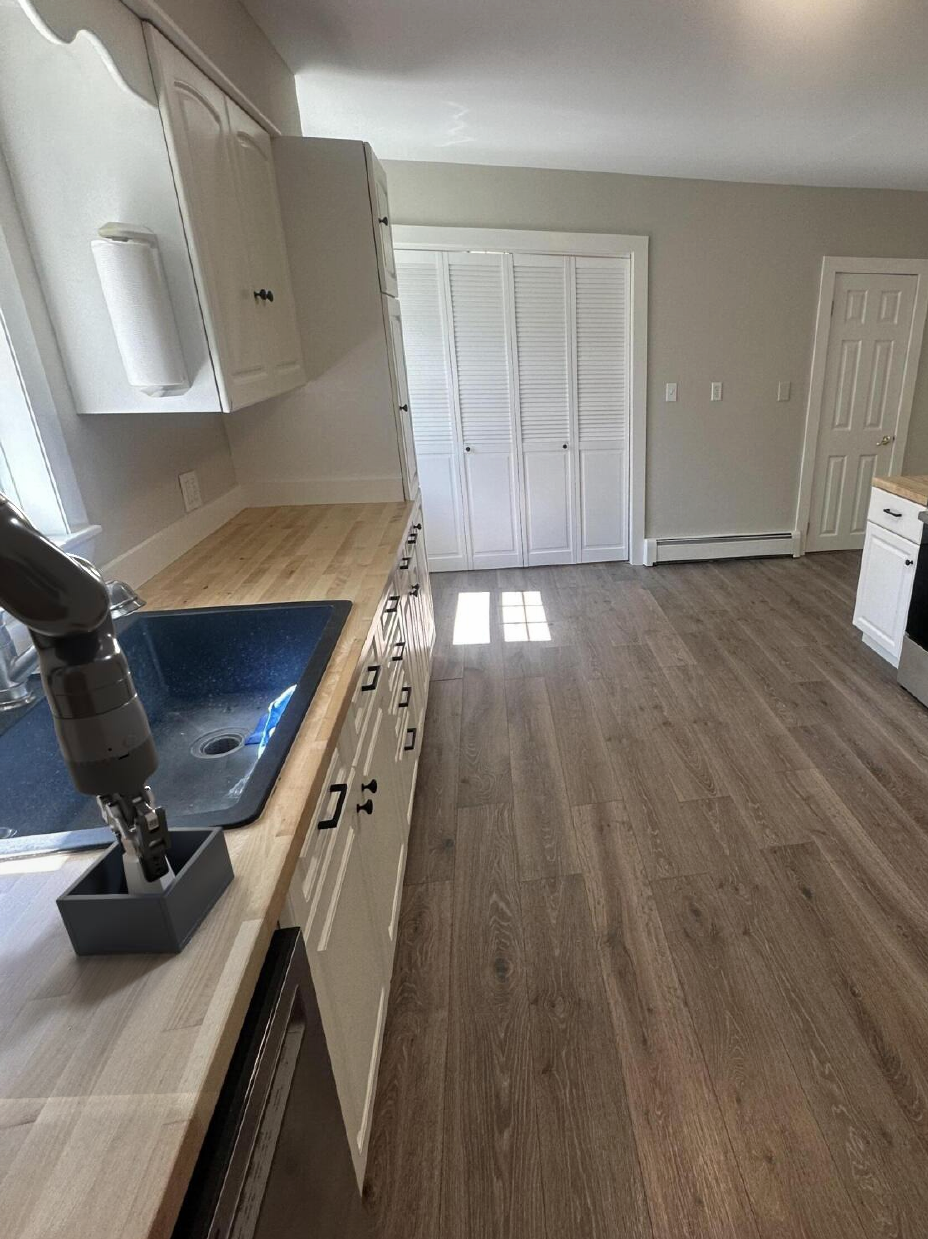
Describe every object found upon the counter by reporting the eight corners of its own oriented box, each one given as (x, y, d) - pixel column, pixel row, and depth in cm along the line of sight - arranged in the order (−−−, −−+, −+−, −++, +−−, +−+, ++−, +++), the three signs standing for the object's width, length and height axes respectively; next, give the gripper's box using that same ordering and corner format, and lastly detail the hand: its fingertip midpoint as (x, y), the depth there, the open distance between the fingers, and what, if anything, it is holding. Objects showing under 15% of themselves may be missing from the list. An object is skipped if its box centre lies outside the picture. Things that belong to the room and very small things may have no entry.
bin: (75, 955, 73) (54, 900, 70) (143, 878, 83) (127, 828, 81) (181, 952, 73) (164, 897, 70) (235, 876, 84) (222, 826, 81)
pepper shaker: (140, 897, 79) (116, 822, 76) (191, 886, 81) (170, 812, 77) (124, 932, 75) (97, 854, 71) (179, 920, 76) (156, 842, 72)
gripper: (38, 734, 71) (83, 861, 77) (92, 779, 63) (136, 916, 69) (119, 706, 77) (155, 825, 82) (177, 744, 69) (211, 872, 75)
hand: (146, 866), depth 76 cm, fingers open, 5 cm apart
